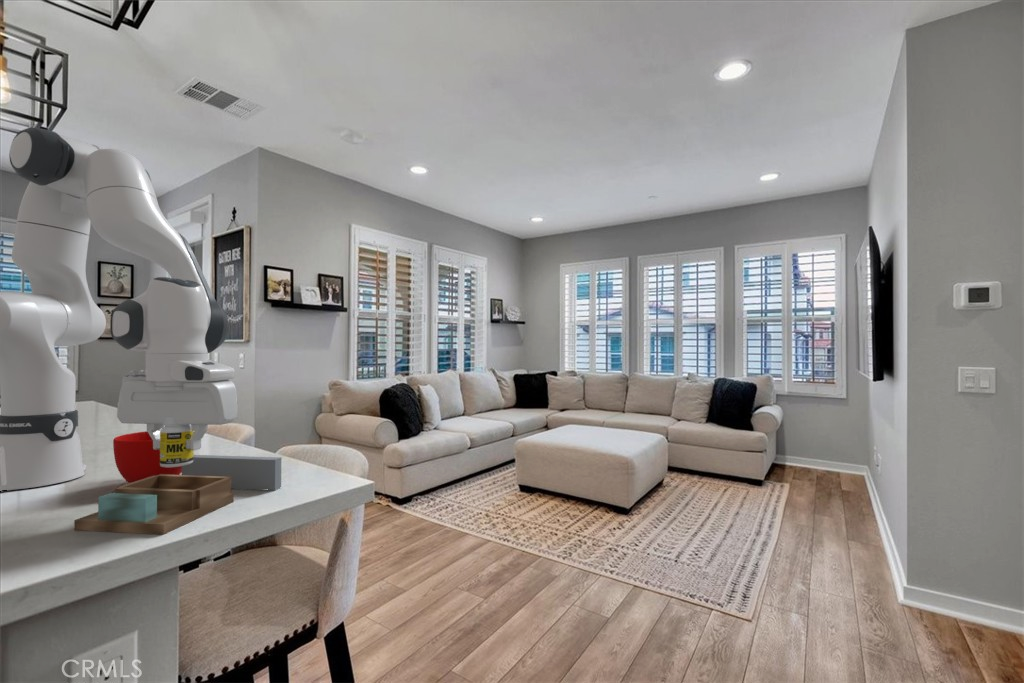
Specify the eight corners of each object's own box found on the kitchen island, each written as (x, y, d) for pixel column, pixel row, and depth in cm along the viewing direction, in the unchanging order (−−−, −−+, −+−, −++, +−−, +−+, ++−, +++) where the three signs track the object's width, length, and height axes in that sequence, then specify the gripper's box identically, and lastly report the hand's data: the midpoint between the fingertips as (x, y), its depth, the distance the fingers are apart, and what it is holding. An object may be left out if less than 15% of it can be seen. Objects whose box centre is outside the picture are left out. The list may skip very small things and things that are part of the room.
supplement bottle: (163, 469, 78) (163, 419, 78) (156, 464, 81) (157, 416, 82) (196, 464, 82) (197, 415, 82) (189, 459, 85) (189, 413, 85)
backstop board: (181, 486, 94) (181, 456, 94) (189, 484, 96) (189, 454, 96) (275, 490, 92) (275, 459, 92) (281, 487, 94) (281, 457, 94)
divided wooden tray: (74, 529, 72) (74, 497, 72) (158, 498, 87) (158, 471, 87) (163, 534, 70) (163, 500, 70) (233, 501, 85) (233, 474, 85)
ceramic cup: (175, 469, 108) (175, 425, 108) (201, 482, 97) (201, 434, 97) (101, 481, 98) (102, 433, 98) (121, 498, 87) (122, 444, 87)
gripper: (106, 371, 80) (105, 452, 80) (217, 371, 78) (217, 454, 78) (139, 369, 86) (139, 444, 86) (243, 369, 84) (243, 446, 84)
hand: (177, 449), depth 82 cm, fingers closed on supplement bottle, 5 cm apart
